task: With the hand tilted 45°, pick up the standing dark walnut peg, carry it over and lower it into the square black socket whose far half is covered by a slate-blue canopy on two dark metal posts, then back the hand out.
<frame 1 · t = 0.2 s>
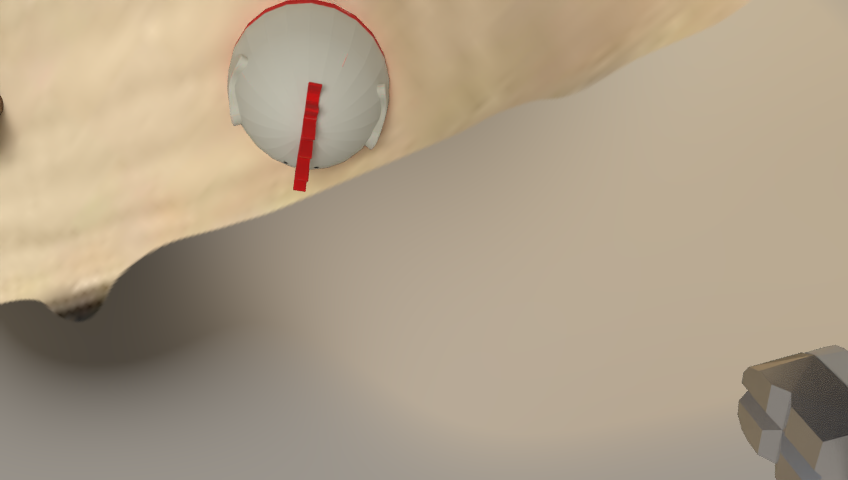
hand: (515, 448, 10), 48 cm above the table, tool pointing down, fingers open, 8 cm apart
kitchen timer: (311, 79, 54), on the table
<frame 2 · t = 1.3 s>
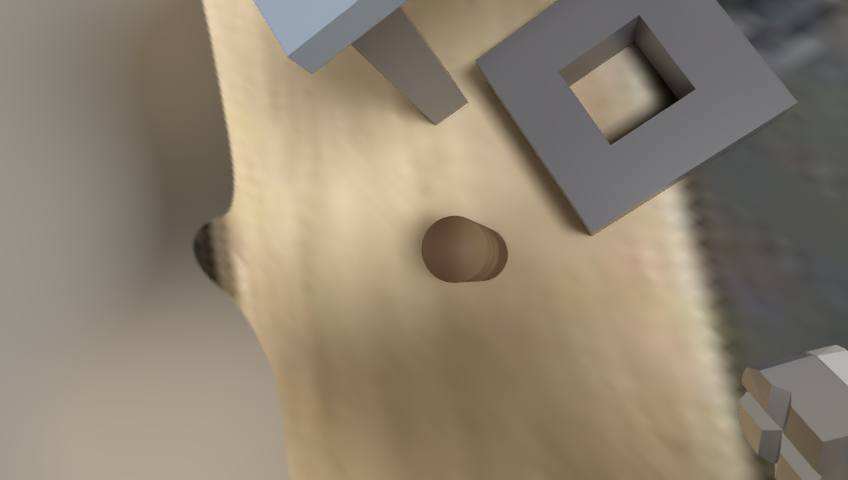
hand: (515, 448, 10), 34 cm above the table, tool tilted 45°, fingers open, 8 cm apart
peg: (480, 254, 44), on the table
socket station: (621, 99, 42), on the table
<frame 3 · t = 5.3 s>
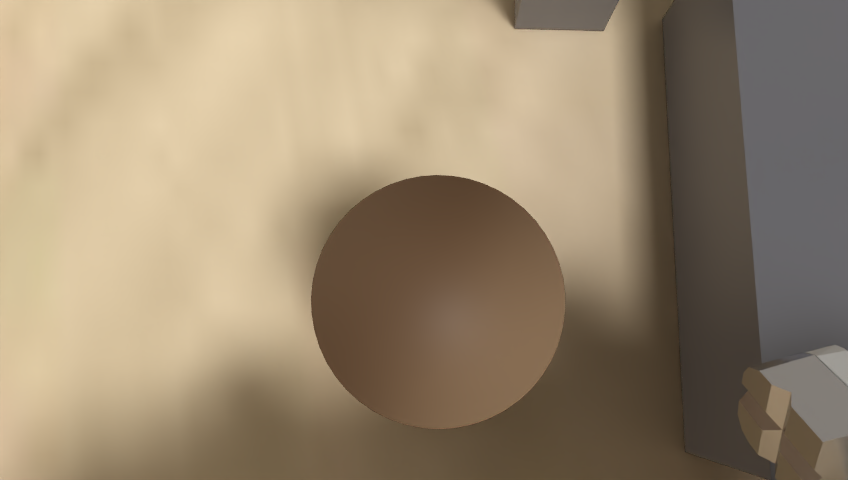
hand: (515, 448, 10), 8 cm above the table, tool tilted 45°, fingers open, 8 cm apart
peg: (435, 330, 18), on the table
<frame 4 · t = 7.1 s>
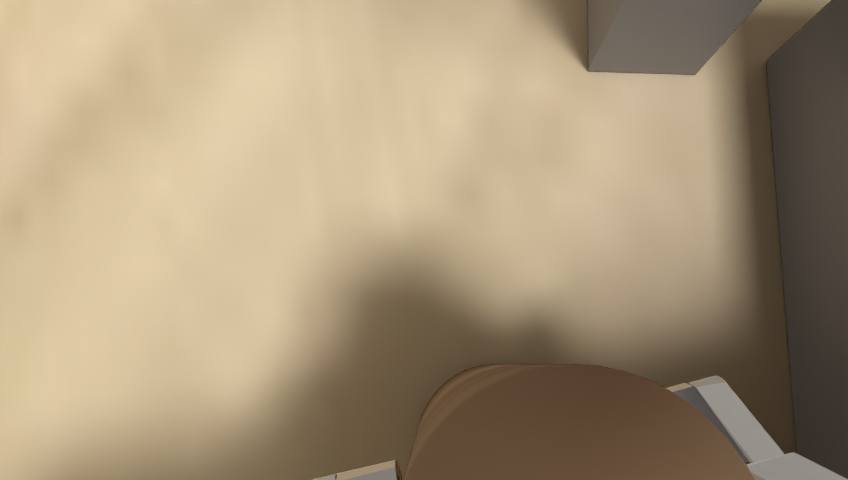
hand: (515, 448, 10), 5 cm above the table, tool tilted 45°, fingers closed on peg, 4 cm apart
peg: (496, 446, 15), on the table, touching gripper
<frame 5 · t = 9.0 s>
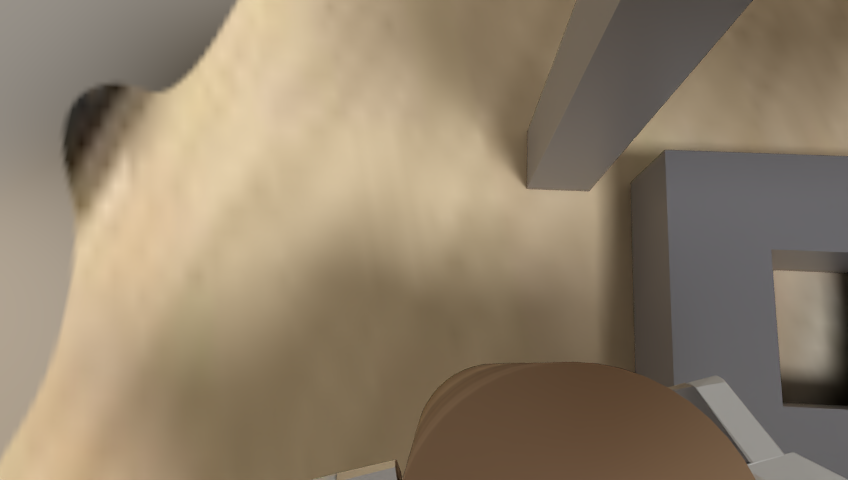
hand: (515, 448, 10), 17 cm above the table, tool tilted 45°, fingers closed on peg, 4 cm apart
peg: (495, 445, 15), point 12 cm above the table, touching gripper
socket station: (789, 335, 27), on the table
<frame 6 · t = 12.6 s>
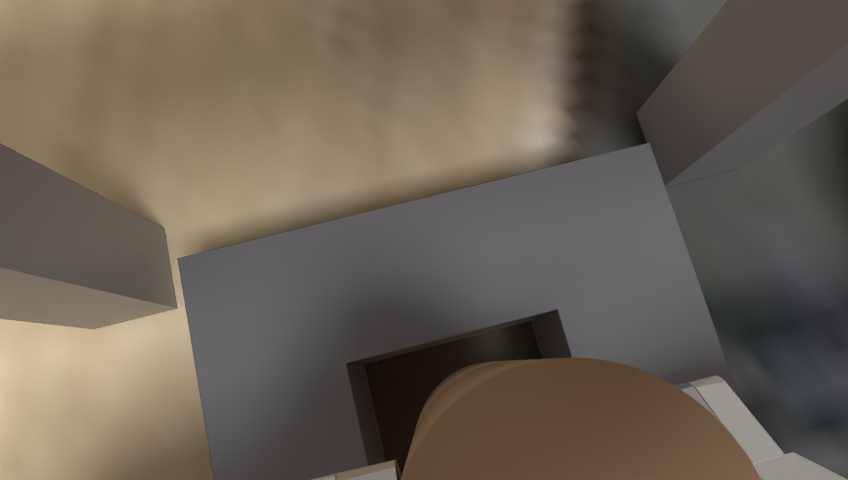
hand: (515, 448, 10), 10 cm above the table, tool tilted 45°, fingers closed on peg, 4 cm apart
peg: (495, 443, 15), point 5 cm above the table, touching gripper
socket station: (470, 430, 20), on the table
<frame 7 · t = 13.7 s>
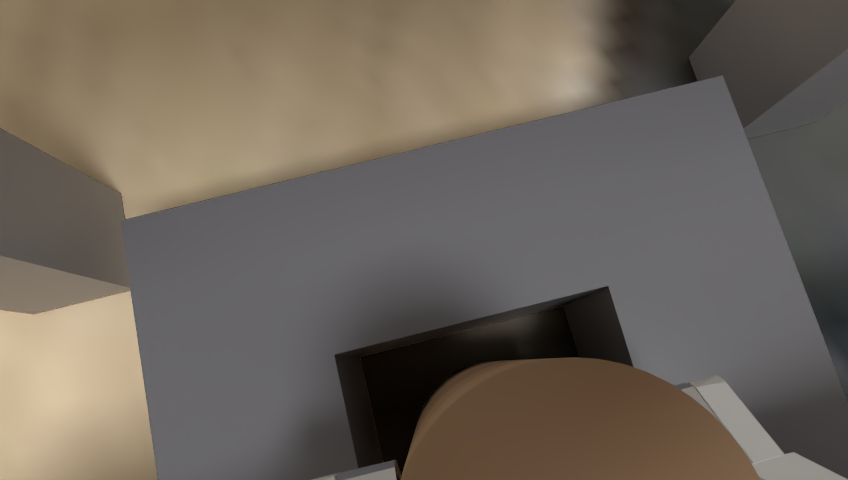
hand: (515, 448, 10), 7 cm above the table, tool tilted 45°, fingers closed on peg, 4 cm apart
peg: (495, 443, 15), point 2 cm above the table, touching gripper
socket station: (490, 438, 16), on the table
when the fingers open (7 cm above the table, at t = 13.7 s): peg drops 2 cm, resting in socket station.
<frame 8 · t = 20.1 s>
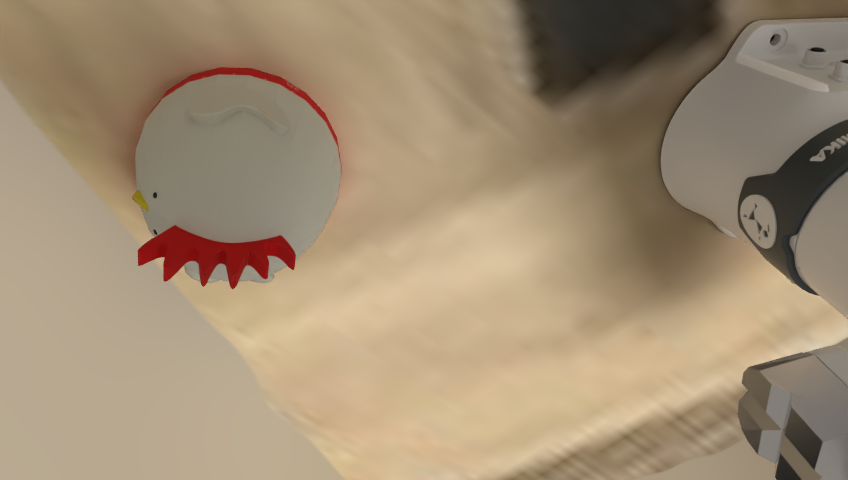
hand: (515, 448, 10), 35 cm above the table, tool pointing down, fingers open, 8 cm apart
kitchen timer: (245, 160, 44), on the table
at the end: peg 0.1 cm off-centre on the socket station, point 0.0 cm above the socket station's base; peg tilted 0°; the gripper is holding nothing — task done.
